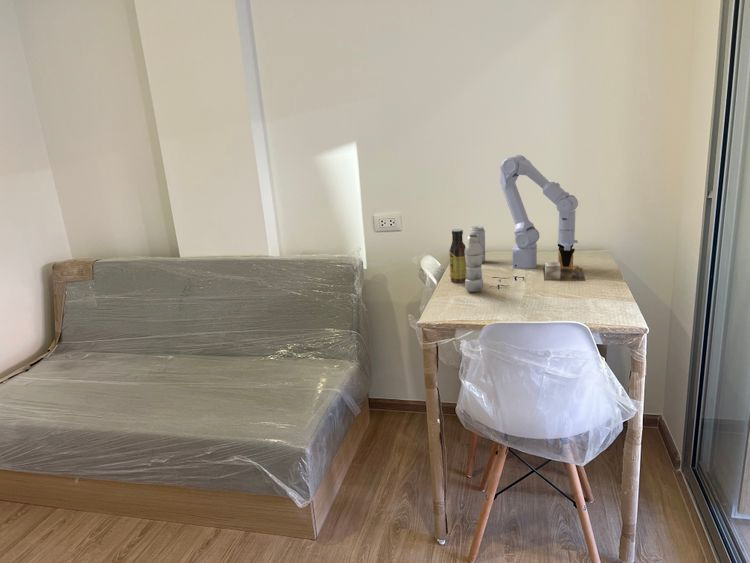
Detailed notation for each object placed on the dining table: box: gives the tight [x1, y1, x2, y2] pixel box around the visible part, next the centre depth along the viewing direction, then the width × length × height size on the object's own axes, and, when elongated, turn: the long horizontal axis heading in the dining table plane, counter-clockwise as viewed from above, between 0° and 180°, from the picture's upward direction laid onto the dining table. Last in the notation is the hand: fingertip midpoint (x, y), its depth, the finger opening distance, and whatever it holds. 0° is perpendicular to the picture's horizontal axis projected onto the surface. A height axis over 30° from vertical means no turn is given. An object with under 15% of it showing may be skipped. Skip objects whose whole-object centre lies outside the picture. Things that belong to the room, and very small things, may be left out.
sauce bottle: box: [448, 228, 466, 283], centre depth 202 cm, size 7×6×20 cm
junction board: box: [542, 261, 586, 282], centre depth 199 cm, size 14×16×6 cm
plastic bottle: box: [464, 234, 484, 293], centre depth 189 cm, size 6×7×20 cm
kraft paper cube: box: [557, 252, 574, 269], centre depth 203 cm, size 5×5×5 cm
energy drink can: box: [469, 225, 486, 263], centre depth 226 cm, size 6×6×15 cm
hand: (565, 264), depth 203 cm, fingers closed on kraft paper cube, 5 cm apart
